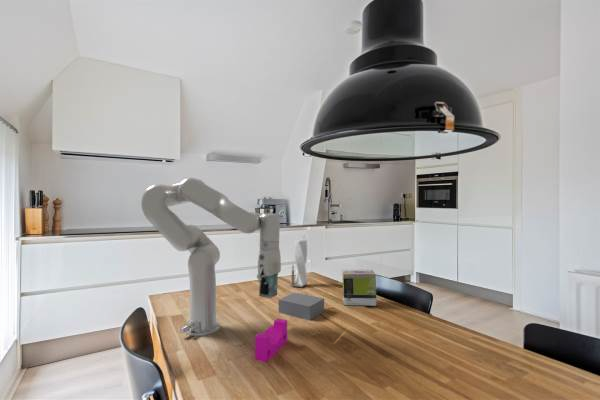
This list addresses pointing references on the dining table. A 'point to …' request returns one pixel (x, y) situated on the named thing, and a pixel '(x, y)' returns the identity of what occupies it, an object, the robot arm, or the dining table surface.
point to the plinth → (301, 306)
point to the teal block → (271, 286)
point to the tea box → (359, 287)
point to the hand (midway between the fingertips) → (268, 291)
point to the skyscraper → (300, 263)
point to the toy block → (271, 340)
